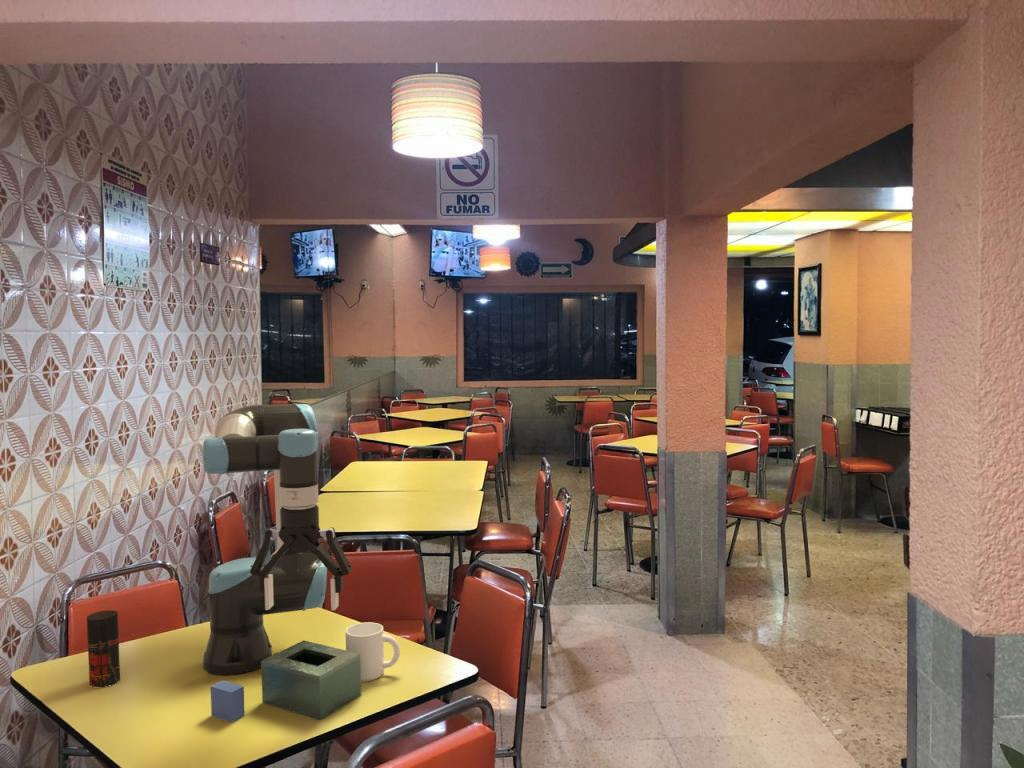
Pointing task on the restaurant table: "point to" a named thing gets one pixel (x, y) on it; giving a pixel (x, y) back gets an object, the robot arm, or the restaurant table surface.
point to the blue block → (227, 701)
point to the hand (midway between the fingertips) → (302, 607)
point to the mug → (370, 648)
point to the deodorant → (103, 648)
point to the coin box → (311, 679)
